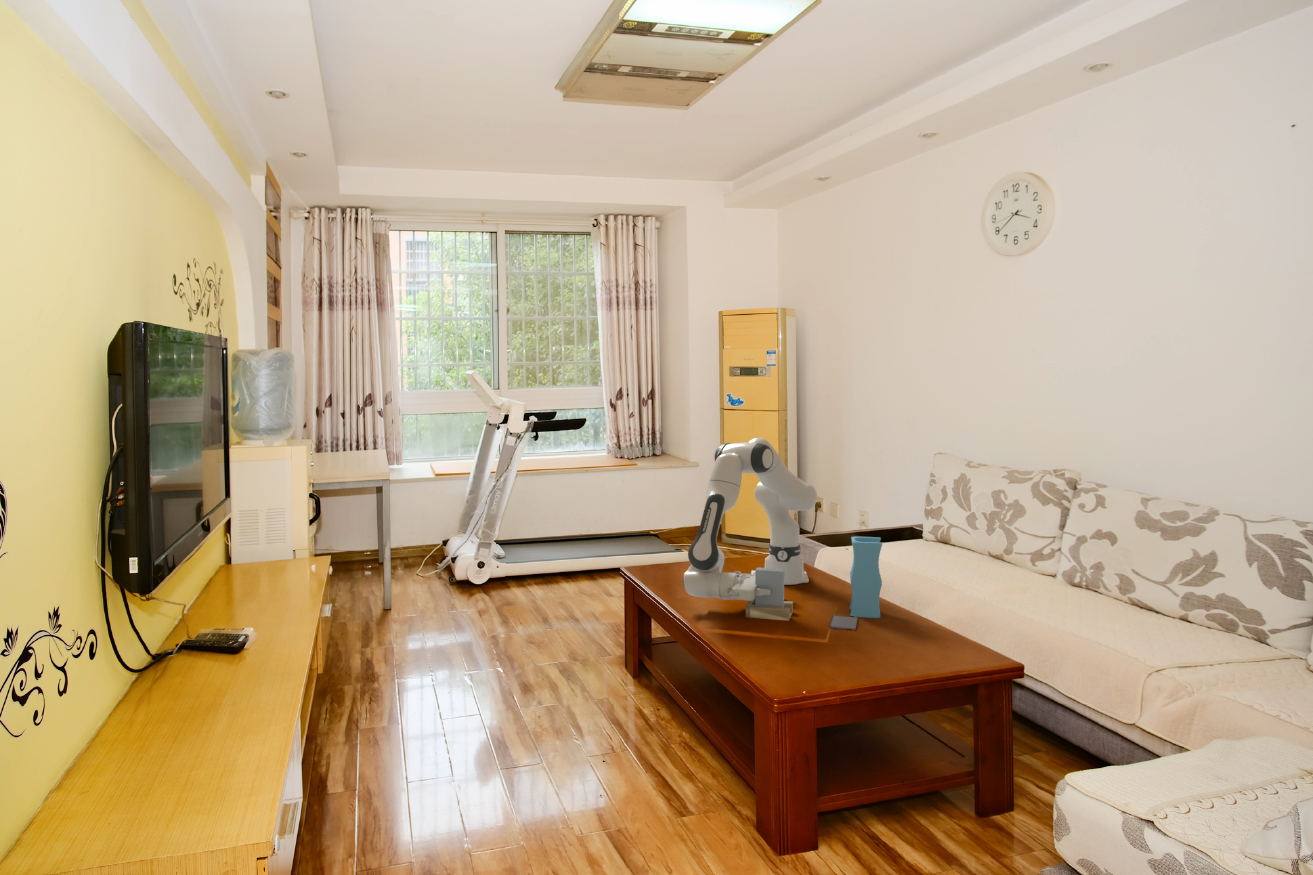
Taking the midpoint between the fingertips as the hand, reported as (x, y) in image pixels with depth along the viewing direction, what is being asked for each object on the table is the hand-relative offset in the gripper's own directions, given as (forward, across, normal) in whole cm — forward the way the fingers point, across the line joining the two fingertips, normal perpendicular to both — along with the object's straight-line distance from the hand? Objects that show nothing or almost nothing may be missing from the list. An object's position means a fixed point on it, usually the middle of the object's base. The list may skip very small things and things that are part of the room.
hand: (772, 589), depth 277 cm
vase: (+29, +14, +10) cm, 34 cm away
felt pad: (+21, 0, +10) cm, 23 cm away
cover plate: (-1, 0, +8) cm, 9 cm away
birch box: (-1, 0, +10) cm, 10 cm away
